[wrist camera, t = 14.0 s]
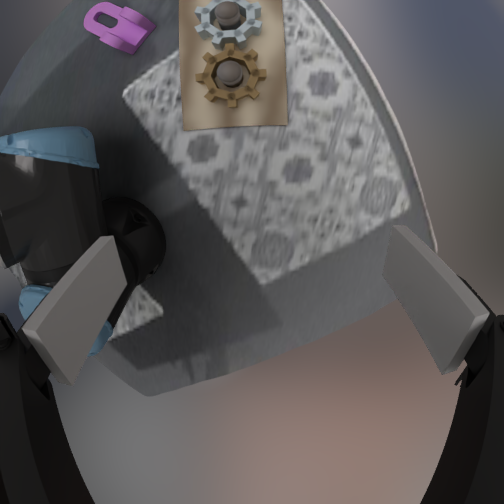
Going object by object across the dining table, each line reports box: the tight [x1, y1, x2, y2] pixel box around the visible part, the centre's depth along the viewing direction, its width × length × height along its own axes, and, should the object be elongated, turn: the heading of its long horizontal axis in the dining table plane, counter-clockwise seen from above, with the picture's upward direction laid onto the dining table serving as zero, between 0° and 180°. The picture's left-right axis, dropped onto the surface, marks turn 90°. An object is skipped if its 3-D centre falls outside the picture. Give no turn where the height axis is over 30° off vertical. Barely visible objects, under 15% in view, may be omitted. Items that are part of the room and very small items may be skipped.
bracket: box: [84, 2, 156, 55], centre depth 23 cm, size 13×6×7 cm, turn 50°
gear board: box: [179, 0, 288, 131], centre depth 26 cm, size 14×22×9 cm, turn 2°
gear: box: [194, 0, 262, 51], centre depth 25 cm, size 8×8×4 cm
